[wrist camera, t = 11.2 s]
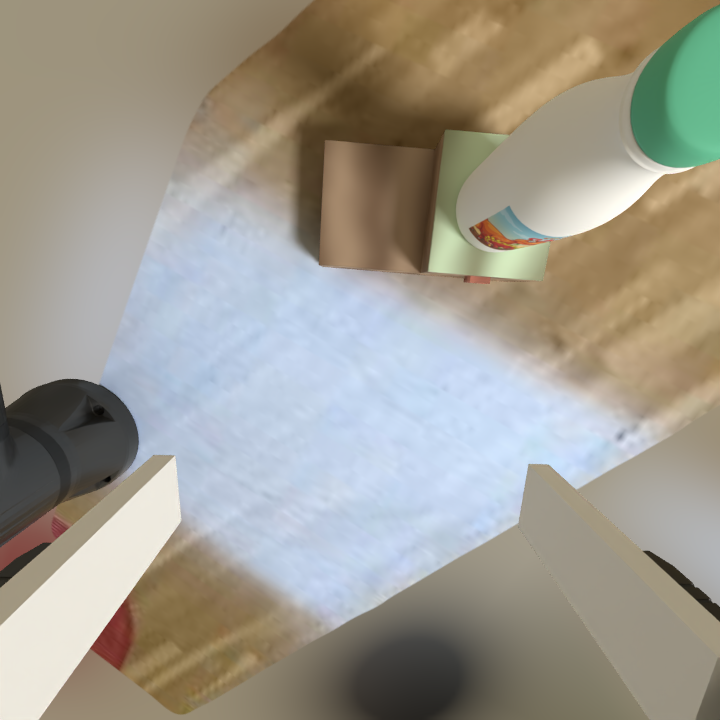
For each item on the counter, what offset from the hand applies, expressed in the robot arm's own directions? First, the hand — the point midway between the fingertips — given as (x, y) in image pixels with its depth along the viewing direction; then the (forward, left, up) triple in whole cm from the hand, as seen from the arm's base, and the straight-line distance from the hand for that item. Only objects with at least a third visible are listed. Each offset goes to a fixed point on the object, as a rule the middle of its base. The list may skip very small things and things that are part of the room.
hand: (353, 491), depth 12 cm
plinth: (+6, +15, -30) cm, 34 cm away
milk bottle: (+11, +15, -22) cm, 29 cm away
